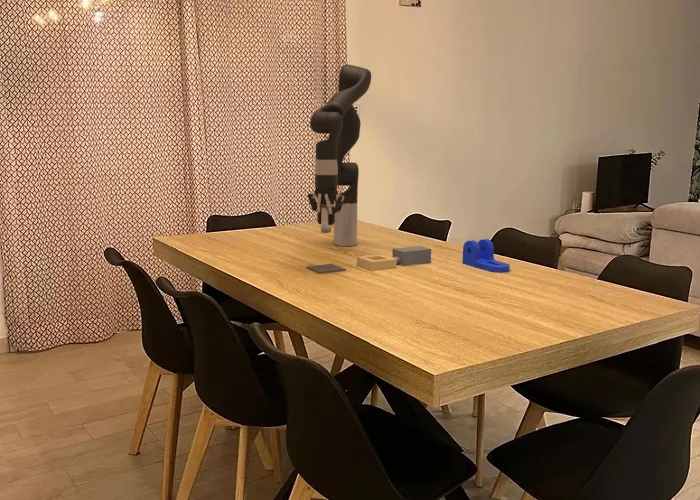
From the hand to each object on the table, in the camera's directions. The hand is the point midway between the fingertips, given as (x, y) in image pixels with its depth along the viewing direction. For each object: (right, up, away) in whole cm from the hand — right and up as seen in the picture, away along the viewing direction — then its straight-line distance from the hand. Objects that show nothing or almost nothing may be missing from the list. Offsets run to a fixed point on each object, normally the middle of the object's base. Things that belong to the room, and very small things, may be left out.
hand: (326, 224), depth 236 cm
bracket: (+56, -15, +10) cm, 59 cm away
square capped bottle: (0, -3, 0) cm, 3 cm away
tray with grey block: (+24, -14, +12) cm, 30 cm away
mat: (0, -15, +3) cm, 16 cm away
